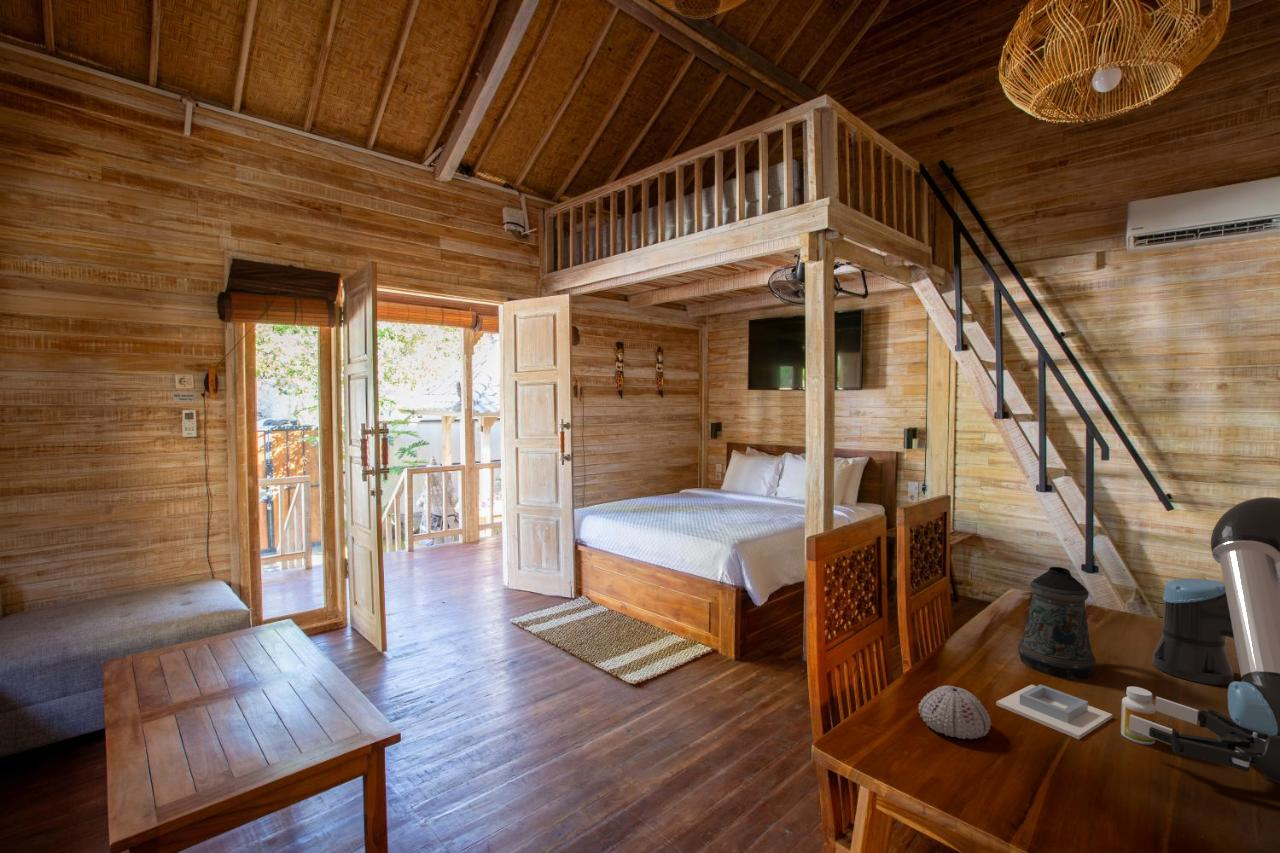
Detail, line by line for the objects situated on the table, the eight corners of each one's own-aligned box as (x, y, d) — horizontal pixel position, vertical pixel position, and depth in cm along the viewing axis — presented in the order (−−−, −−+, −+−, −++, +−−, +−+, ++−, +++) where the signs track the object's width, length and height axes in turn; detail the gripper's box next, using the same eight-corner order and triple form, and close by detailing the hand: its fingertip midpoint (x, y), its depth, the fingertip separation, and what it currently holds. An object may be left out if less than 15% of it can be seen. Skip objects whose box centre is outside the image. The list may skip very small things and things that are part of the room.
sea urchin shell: (997, 751, 116) (998, 710, 115) (920, 737, 120) (921, 698, 120) (984, 717, 128) (985, 681, 128) (914, 706, 133) (916, 670, 132)
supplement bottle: (1161, 747, 117) (1163, 698, 117) (1130, 743, 118) (1132, 695, 118) (1144, 732, 123) (1146, 686, 122) (1114, 729, 124) (1116, 683, 123)
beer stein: (1036, 677, 148) (1039, 577, 147) (1001, 646, 167) (1004, 557, 166) (1110, 682, 145) (1114, 581, 144) (1066, 650, 164) (1070, 560, 163)
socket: (1031, 687, 142) (1031, 675, 142) (1112, 717, 128) (1112, 704, 128) (996, 705, 133) (996, 691, 133) (1078, 739, 120) (1079, 724, 120)
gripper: (1279, 815, 95) (1117, 749, 113) (1314, 765, 108) (1165, 713, 126) (1281, 769, 94) (1118, 710, 112) (1317, 724, 108) (1166, 679, 126)
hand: (1143, 712), depth 119 cm, fingers open, 13 cm apart
